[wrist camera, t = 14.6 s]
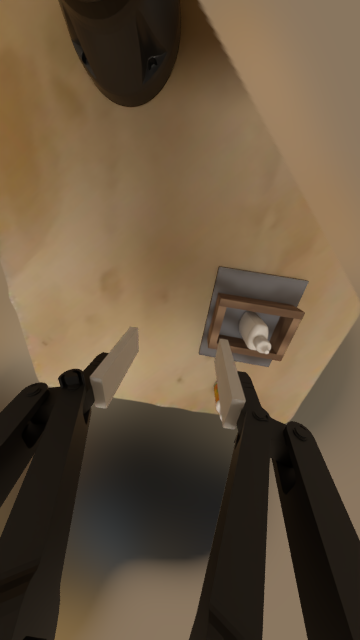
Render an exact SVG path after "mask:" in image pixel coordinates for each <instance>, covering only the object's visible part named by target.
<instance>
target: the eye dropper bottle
mask: <svg viewBox="0 0 360 640" xmlns="http://www.w3.org/2000/svg"><path fill="white" fill-rule="evenodd" d="M239 332H240V334H241V336H242V338H243V340H244V342H245V344H246V345H247V347H248V348H249V349H251V350H257V351H258V352H259V353H265V354H268V353H269V351H270V349H271V344H270V342H269V341H268V340H267V339H268V327H267V325H266V324H265V323H264V321H263V320H262V319H261V318H260V317H259V316H258V315H257V313H256V312H252V311H246V312H245V313H244V314H243V316H242V317H241V319H240V322H239Z"/></svg>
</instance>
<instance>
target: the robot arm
mask: <svg viewBox="0 0 360 640" xmlns="http://www.w3.org/2000/svg"><path fill="white" fill-rule="evenodd" d="M58 1H59V4H60V7H61V10H62V13H63V16H64V19H65V22H66V25H67V28H68V31H69V34H70V37H71V40H72V42H73V45H74V48H75V50H76V52H77V54H78V57H79V59H80V61H81V63H82V64H83V66H84V68H85V69H86V71H87V73H88V74H89V76H90V77H91V79H92V80H93V82H94V83H95V85H96V86H97V88H98V89H99V90H100V91H101V92H102V93H103V94H104V95H105V96H106V97H107V98H109V99H110V100H112V101H113V102H115V103H117V104H120V105H123V106H138V105H141V104H144V103H146V102H147V101H149V100H151V99H152V98H153V97H154V96H155V95H156V94H157V93H158V92H159V91H160V90H161V89H162V87H163V86H164V84H165V83H166V81H167V79H168V77H169V75H170V73H171V71H172V68H173V66H174V63H175V60H176V56H177V52H178V47H179V41H180V30H181V12H180V0H58ZM138 351H139V346H138V328H136V327H130V328H129V329H128V330H127V332H126V333H125V334H124V335H123V337H122V338H121V339H120V340H119V341H118V343H117V344H116V345H115V346H114V348H113V349H112V350H111V351H110V353H104V352H103V353H101V354H99V355H98V356H97V357H96V358H95V359H94V360H93V361H92V362H91V363H90V365H88V367H87V368H86V369H85V370H84V371H82V370H80V369H71V370H68V371H66V372H64V373H63V374H61V375H60V376H59V378H58V380H59V383H60V386H61V387H53V388H48V386H47V384H46V383H42V382H41V383H35V384H32V385H30V386H28V387H26V388H25V389H23V390H22V391H21V392H20V393H19V394H18V395H17V396H16V397H15V398H14V399H13V400H12V401H11V402H10V403H9V404H8V405H7V406H6V407H5V408H4V410H3V411H2V412H1V413H0V507H1V506H2V504H3V503H4V501H5V499H6V498H7V496H8V495H9V493H10V491H11V490H12V488H13V487H14V485H15V484H16V482H17V480H18V479H19V477H20V476H21V474H22V472H23V471H24V469H25V468H26V466H27V464H28V463H29V461H30V460H31V458H32V456H33V455H34V456H33V459H32V461H31V464H30V466H29V469H28V471H27V473H26V476H25V478H24V481H23V483H22V486H21V488H20V491H19V493H18V496H17V498H16V501H15V503H14V506H13V508H12V510H11V513H10V515H9V518H8V520H7V523H6V525H5V528H4V530H3V532H2V535H1V537H0V640H54V638H55V633H56V627H57V621H58V614H59V605H60V582H61V576H62V570H63V565H64V559H65V553H66V548H67V542H68V537H69V532H70V525H71V521H72V515H73V510H74V504H75V499H76V493H77V488H78V482H79V477H80V471H81V466H82V460H83V455H84V449H85V444H86V438H87V433H88V427H89V422H90V416H91V406H92V404H93V403H94V401H95V406H96V407H100V408H107V407H108V405H109V403H110V401H111V399H112V398H113V396H114V394H115V392H116V391H117V389H118V387H119V385H120V383H121V382H122V380H123V378H124V376H125V374H126V373H127V371H128V369H129V367H130V365H131V364H132V362H133V360H134V358H135V356H136V355H137V353H138ZM214 362H215V370H216V378H217V386H218V393H219V401H220V409H221V417H222V424H223V428H229V429H235V427H236V425H237V428H238V433H237V436H236V439H235V441H234V443H235V445H234V450H233V454H232V459H231V463H230V467H229V472H228V477H227V481H226V485H225V490H224V494H223V499H222V503H221V507H220V512H219V517H218V521H217V525H216V530H215V534H214V539H213V543H212V547H211V552H210V557H209V561H208V565H207V570H206V574H205V578H204V583H203V587H202V592H201V596H200V601H199V605H198V610H197V614H196V617H195V621H194V624H193V628H192V631H191V634H190V638H189V640H262V631H263V606H264V583H265V559H266V535H267V511H268V487H269V463H270V458H272V462H273V467H274V472H275V477H276V483H277V487H278V492H279V497H280V502H281V508H282V512H283V517H284V523H285V527H286V532H287V538H288V542H289V548H290V552H291V558H292V562H293V568H294V573H295V578H296V583H297V588H298V592H299V598H300V603H301V608H302V613H303V617H304V623H305V628H306V632H307V638H308V640H360V540H359V538H358V536H357V534H356V531H355V529H354V527H353V525H352V522H351V520H350V518H349V515H348V513H347V511H346V509H345V507H344V504H343V502H342V500H341V497H340V495H339V493H338V491H337V488H336V486H335V484H334V482H333V479H332V477H331V475H330V472H329V470H328V468H327V466H326V463H325V461H324V459H323V457H322V454H321V452H320V450H319V448H318V446H317V443H316V441H315V439H314V437H313V435H312V434H311V432H310V431H309V430H308V429H307V428H306V427H304V426H303V425H302V424H299V423H297V422H293V421H291V422H288V424H287V425H285V424H283V423H281V422H279V421H276V420H274V419H272V418H271V417H270V416H269V414H268V413H267V412H266V411H265V410H264V409H263V408H262V407H261V404H260V402H259V399H258V396H257V394H256V391H255V389H254V386H253V383H252V381H251V378H250V377H249V376H248V374H247V373H246V372H240V371H237V369H236V366H235V362H234V359H233V356H232V352H231V349H230V345H229V342H228V340H226V339H219V344H218V348H217V352H216V357H215V361H214ZM34 453H35V454H34Z"/></svg>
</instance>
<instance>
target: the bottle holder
mask: <svg viewBox="0 0 360 640" xmlns="http://www.w3.org/2000/svg"><path fill="white" fill-rule="evenodd" d="M308 282H309V281H306V280H300V279H294V278H288V277H282V276H275V275H269V274H263V273H257V272H251V271H244V270H238V269H232V268H226V267H220V266H219V269H218V273H217V277H216V281H215V286H214V290H213V294H212V299H211V303H210V307H209V312H208V316H207V320H206V324H205V329H204V333H203V337H202V342H201V346H200V350H199V355H205V356H210V357H216V352H217V348H218V344H219V339H226V340H228V342H229V345H230V349H231V352H232V356H233V359H234V361H238V362H243V363H249V364H254V365H260V366H265V367H269V365H270V363H271V361H272V360H277V361H281V360H282V358H283V356H284V354H285V352H286V350H287V348H288V346H289V344H290V342H291V340H292V338H293V336H294V334H295V332H296V330H297V328H298V326H299V324H300V322H301V320H302V318H303V316H304V314H305V312H303V311H302V310H300V309H298V308H297V306H298V303H299V301H300V299H301V297H302V295H303V293H304V291H305V288H306V286H307V284H308ZM246 311H252V312H256V313H257V315H258V316H259V317H260V318H261V319H262V320H263V321H264V323H265V324H266V325H267V327H268V339H267V340H268V341H269V342H270V344H271V349H270V351H269V353H268V354H265V353H259V352H258V351H257V350H251V349H249V348H248V347H247V345H246V344H245V342H244V340H243V338H242V336H241V334H240V332H239V322H240V319H241V317H242V316H243V314H244V313H245V312H246Z"/></svg>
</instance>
